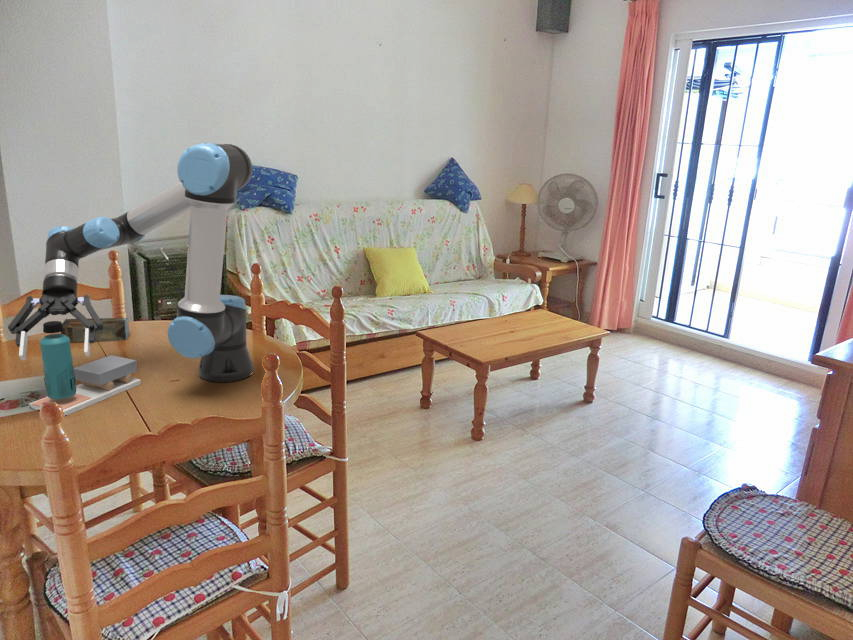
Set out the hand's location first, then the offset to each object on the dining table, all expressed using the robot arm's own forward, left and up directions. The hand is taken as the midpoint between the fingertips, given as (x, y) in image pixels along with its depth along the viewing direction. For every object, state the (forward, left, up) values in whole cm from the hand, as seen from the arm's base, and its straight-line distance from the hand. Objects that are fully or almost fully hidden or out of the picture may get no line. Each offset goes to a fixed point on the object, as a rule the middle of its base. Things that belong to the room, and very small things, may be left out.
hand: (55, 356), depth 148 cm
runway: (0, -8, -13) cm, 15 cm away
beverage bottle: (0, 0, -12) cm, 12 cm away
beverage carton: (+36, -43, -14) cm, 58 cm away
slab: (0, -14, -9) cm, 17 cm away
